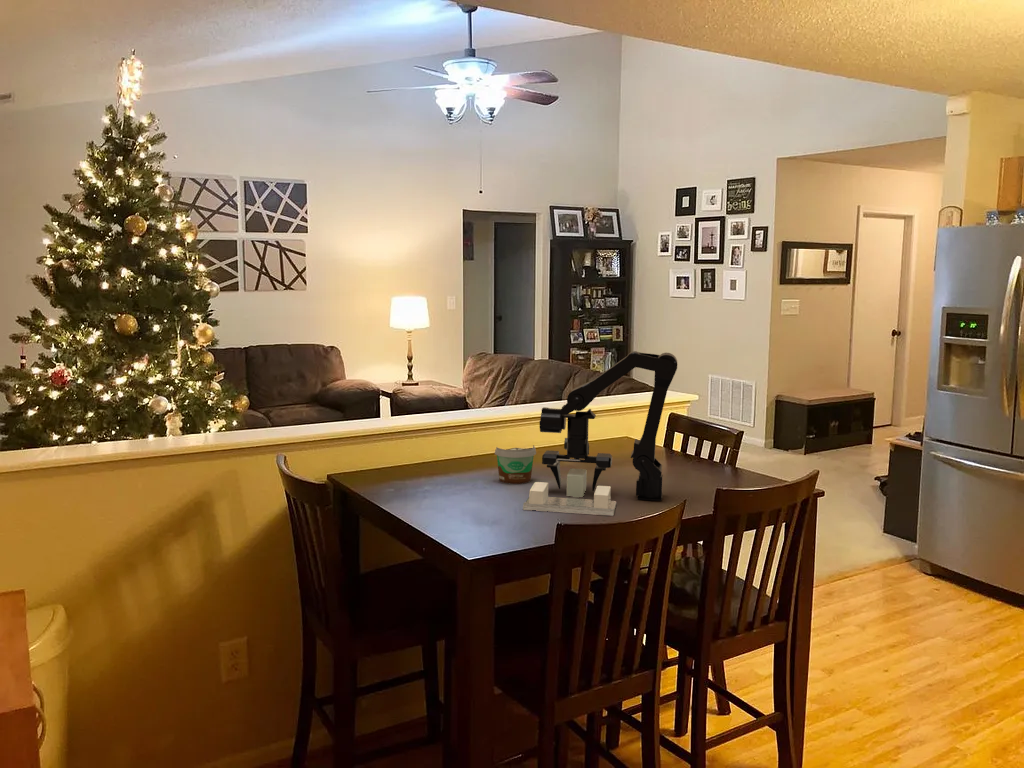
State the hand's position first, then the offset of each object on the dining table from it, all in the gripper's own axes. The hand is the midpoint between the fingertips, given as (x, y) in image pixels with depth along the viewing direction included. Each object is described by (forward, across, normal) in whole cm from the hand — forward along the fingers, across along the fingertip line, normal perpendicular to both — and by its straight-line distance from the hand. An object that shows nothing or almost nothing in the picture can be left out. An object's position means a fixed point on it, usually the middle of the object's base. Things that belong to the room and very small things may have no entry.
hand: (576, 489), depth 229 cm
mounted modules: (+1, 0, +14) cm, 14 cm away
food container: (+1, +18, -8) cm, 20 cm away
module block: (+1, 0, 0) cm, 1 cm away
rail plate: (+1, 0, +14) cm, 14 cm away
